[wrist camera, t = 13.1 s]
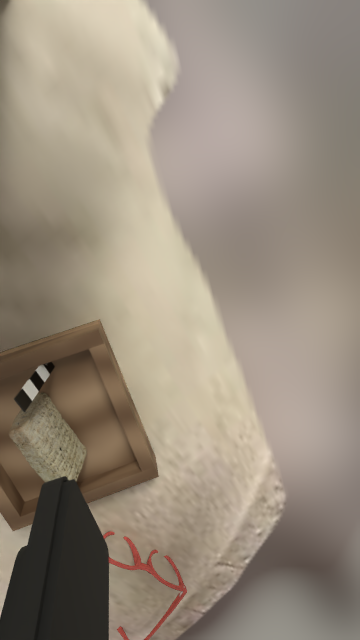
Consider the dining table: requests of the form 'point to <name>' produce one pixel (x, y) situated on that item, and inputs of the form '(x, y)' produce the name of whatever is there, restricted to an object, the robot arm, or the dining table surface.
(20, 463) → the wooden tray
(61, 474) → the cuneiform tablet
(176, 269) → the dining table surface
